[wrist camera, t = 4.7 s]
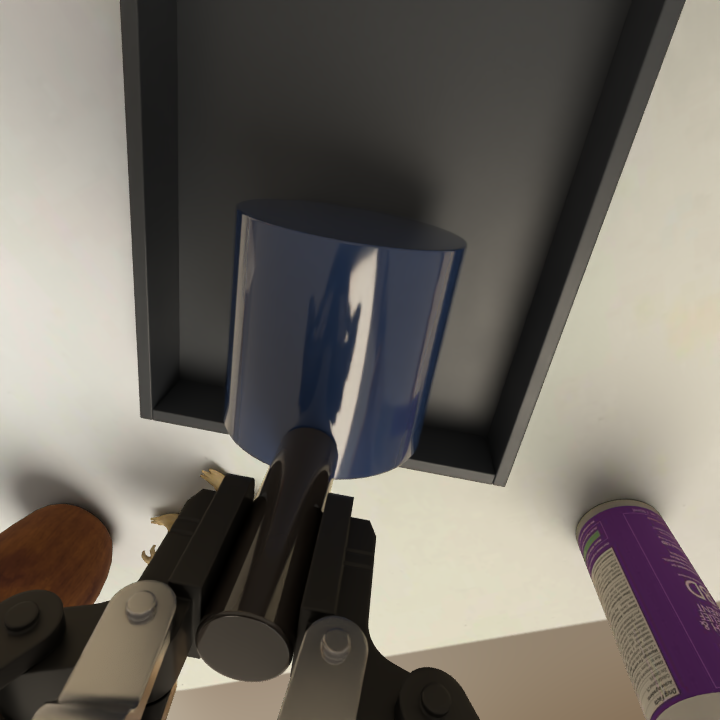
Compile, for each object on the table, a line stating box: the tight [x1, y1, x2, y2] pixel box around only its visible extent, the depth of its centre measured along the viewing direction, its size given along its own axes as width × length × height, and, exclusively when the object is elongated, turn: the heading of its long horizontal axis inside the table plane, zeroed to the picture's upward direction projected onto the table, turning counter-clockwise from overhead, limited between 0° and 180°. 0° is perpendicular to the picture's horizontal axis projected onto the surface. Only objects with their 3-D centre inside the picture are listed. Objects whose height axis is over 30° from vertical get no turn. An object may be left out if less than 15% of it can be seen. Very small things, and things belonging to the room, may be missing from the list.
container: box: [576, 500, 720, 720], centre depth 21 cm, size 5×5×15 cm
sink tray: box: [120, 0, 686, 487], centre depth 18 cm, size 17×28×4 cm, turn 171°
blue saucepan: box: [195, 199, 468, 682], centre depth 15 cm, size 15×8×8 cm
